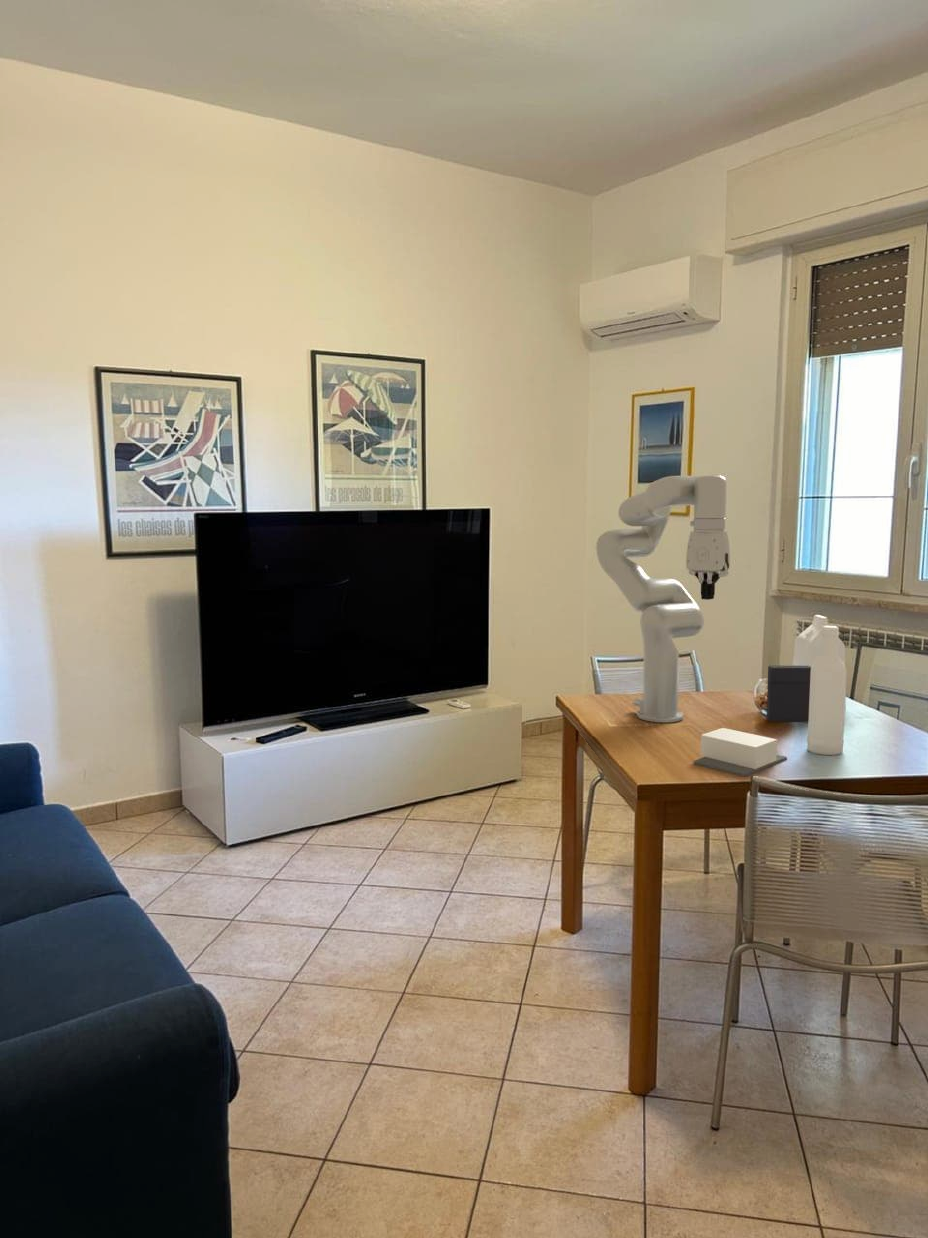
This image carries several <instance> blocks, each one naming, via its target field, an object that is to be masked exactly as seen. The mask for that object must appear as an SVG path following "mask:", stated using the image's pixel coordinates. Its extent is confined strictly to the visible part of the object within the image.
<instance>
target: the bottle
mask: <svg viewBox="0 0 928 1238" xmlns="http://www.w3.org/2000/svg"><path fill="white" fill-rule="evenodd" d="M821 634H822V640H821V656H820V657H818V658H817V659H816V660H815V661H814V663H813V665H812V667H811V674H810V698H809V721H808V722H807V723H808V726H807V727H808V728H807V738H806V741H807V742H806V743H807V745H806V747H807V748H806V749H807V751H809V752H811V753H814V754H817V755H822V756H838V755H841V754H842V753H843V751H844V749H843V748H844V732H845V731H844V729H845V728H844V726H845V710H846V709H845V697H846V688H847V687H846V686H847V668H846V664H845V665H844V663H843V662H842V661H841V660H840V659H839V658H838V657H837V656H838V638H839V636H840V628H839V627H838V626H836V625H828V626H823V627H822V631H821Z"/></svg>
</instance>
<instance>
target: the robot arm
mask: <svg viewBox="0 0 928 1238" xmlns="http://www.w3.org/2000/svg"><path fill="white" fill-rule="evenodd" d="M726 503H727V479H726V477H724V476H722V475H670V476H669V475H668V476H665V477H661V478H659V479H656V480H655V481H653V482H650V483H649V484H648V485H647V487H646V489H645V490H644V491H643V492H640V493H637V494H635V495H631V496H630V497H628V498H626V499H625V500H623V502H621V504H620V505H619V507H618V517H619V519H620V521H621V522H622V523H623V524H625V525H626V526H630V527H641V528H620V529H618V528H617V529H611V530H607V531H605V532H603V533H602V534H600V535H599V537H598V538H597V541H596V544H595V546H596V547H595V548H596V549H595V550H596V556H597V559H598V563H599V565H600V567H601V568H602V570H603V571H604V572H605V574H606V575H607V576H608V577H609V578H610V579H611V580H612V581H613V582H614V583H615V584H616V586H617V587H618V588H619V590H620V592H621V593H622V594H623V596H624V598H625V599H626V600H627V601H628V603H629V604H630V606H631V607H632V608H633V609H634V610H635V611H636V612H638V613H641V615H640V618H639V619H640V629H641V634H642V643H643V644H642V645H643V671H642V672H643V675H642V676H643V678H642V679H643V680H642V681H643V683H642V684H643V685H642V686H643V690H642V693H643V694H642V698H640V697H635V698H634V701H632V705H633V706H635V707H638V708H639V710H637V712H636V715H637V718H639V719H640V720H643V721H647V722H651V723H666V724H667V723H675V722H679V721H682V720H684V718H685V717H684V713H683V712H682V711H680V710H679V684H680V683H679V682H680V681H679V679H680V677H679V675H680V673H679V672H680V670H679V669H680V655H679V651H678V649H677V647H676V645H675V643H674V642H673V639H678V638H688V637H689V638H690V637H693V636H696V635H698V634H700V632H701V631H702V630H703V627H704V625H705V624H704V621H705V620H704V615H703V613H702V610H701V608H700V607H699V605H698V603H697V602H696V601H695V600H694V599H693V597H692V595H691V594H689V592H688V590H686V588H685V587H684V586H683V585H682V583H680V582H679V581H678V580H676V579H673V578H668V577H666V578H665V577H664V578H662V577H659V578H654V577H653V578H652V577H649V575H647V573H645V571H644V569H643V568H642V567H641V566H640V565H638V564H637V563H636V562H634V561H632V560H631V559H633V558H636V559H638V558H646V557H649V556H652V554H654V552H655V551H656V549H657V547H658V545H659V543H660V540H661V539H662V536H663V534H664V532H665V529H666V527H667V525H668V523H669V520H670V515H671V511H672V507H676V506H678V507H680V506H689V507H690V506H693V508H694V509H693V520H691V521H690V524H689V525H690V526H691V527H693V531H690V533H689V537H688V542H687V547H686V548H687V549H686V556H685V557H686V559H685V561H686V562H685V567H686V569H687V570H688V574H689V575H692V576H694V577H695V578H696V579H697V580H698V583H699V584H700V595H701V596H700V597H701V600H705V601H708V600H713V599H714V598H715V594H716V593H715V592H716V590H715V589H716V584H717V583H718V581H719V580H720V578H725V577H728V576H729V569H730V565H731V563H730V561H731V556H730V555H731V553H730V552H731V551H730V540H729V535H728V531H726V505H727V504H726Z"/></svg>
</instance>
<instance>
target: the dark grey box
mask: <svg viewBox="0 0 928 1238" xmlns="http://www.w3.org/2000/svg"><path fill="white" fill-rule="evenodd" d="M767 667H768V668H767V691H766V692H767V693H766V696H767V697H766V720H768V721H769V722H770V723H771V722H773V723H775V722H777V723H782V722H783V723H808V721H809V698H810V674H811V667H810V666H793V665H768V666H767Z"/></svg>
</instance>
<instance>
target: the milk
mask: <svg viewBox="0 0 928 1238" xmlns="http://www.w3.org/2000/svg"><path fill="white" fill-rule="evenodd" d="M823 626H829V622H828V617H827V616H823V615H820V614H815V615H814V616H813V619H812V622H811V624H810V625H809V626H808V627H807V628H805V630H803V631H802V632H801V633H799V635H797V637H796V638H795V640H794V643H793V644H794V646H793V654H792V656H793V658H792V666H810V667H812V665H813V663H814V661H815V660H816V659H817V658H818V657H820V656H821V640H822V634H821V631H822V627H823ZM837 657H838V658H839V659H840V660H841V661H842V662H843V663H844V665H845V666H846V646H845V644H844V642H843V641H842V639H841V638H840V637H838V656H837ZM846 697H847V696H845V710H846V702H847V701H846Z"/></svg>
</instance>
